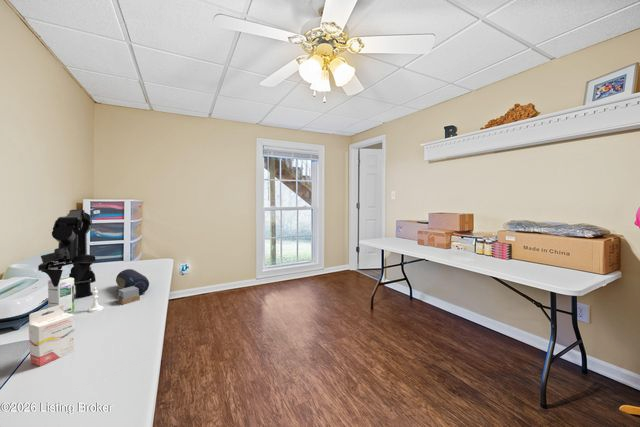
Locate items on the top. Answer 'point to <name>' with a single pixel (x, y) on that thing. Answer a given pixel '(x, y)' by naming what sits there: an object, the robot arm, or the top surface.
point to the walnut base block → (128, 299)
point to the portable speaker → (132, 280)
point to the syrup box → (62, 294)
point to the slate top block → (128, 292)
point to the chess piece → (95, 302)
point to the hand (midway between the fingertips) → (66, 284)
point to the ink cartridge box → (51, 335)
